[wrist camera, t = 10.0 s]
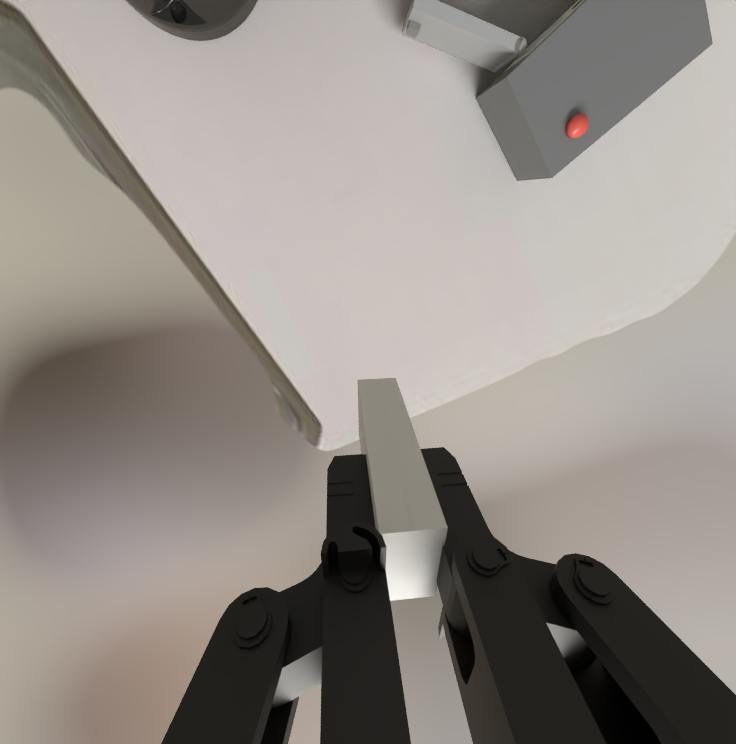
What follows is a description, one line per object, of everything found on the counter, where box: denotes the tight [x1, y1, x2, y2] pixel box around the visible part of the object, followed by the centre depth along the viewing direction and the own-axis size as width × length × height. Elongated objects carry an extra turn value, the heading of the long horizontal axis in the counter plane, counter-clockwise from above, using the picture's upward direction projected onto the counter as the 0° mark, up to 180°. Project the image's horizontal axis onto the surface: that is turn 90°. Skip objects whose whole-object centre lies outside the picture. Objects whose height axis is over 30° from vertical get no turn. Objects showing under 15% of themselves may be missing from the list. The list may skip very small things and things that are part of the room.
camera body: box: [476, 0, 713, 181], centre depth 31 cm, size 10×18×8 cm, turn 130°
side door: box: [402, 0, 527, 73], centre depth 30 cm, size 2×10×5 cm, turn 75°
